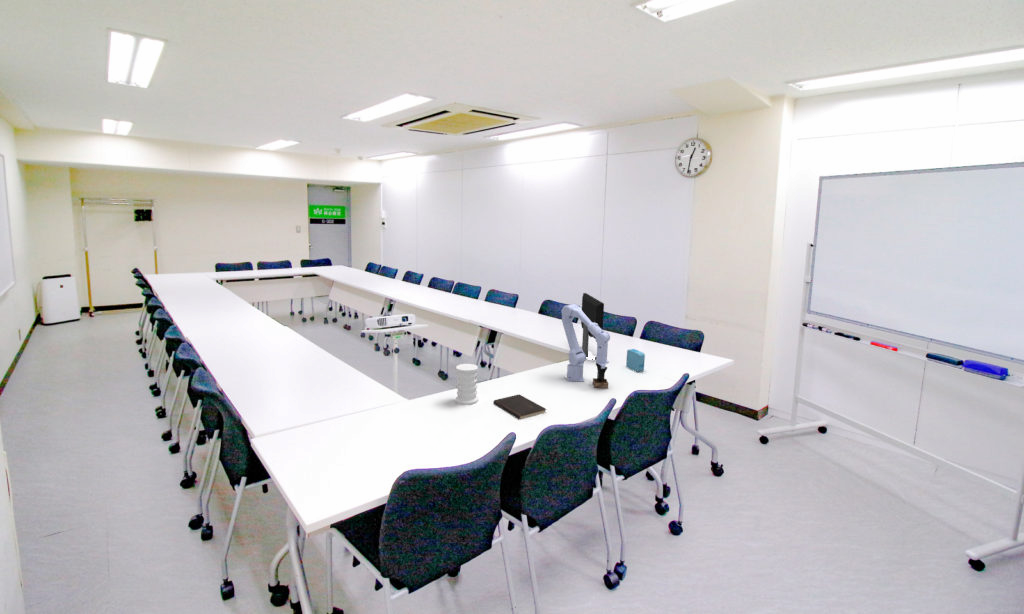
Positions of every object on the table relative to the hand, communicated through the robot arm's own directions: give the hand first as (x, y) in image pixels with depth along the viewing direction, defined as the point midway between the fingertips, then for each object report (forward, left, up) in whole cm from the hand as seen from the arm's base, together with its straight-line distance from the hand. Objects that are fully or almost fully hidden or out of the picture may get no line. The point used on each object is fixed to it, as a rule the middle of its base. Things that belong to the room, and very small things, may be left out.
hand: (600, 377), depth 275 cm
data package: (+25, +32, -5) cm, 41 cm away
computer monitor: (0, +60, -5) cm, 60 cm away
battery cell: (0, 0, -2) cm, 2 cm away
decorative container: (-72, -29, -5) cm, 77 cm away
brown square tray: (0, 0, -5) cm, 5 cm away
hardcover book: (-44, -36, -6) cm, 57 cm away
